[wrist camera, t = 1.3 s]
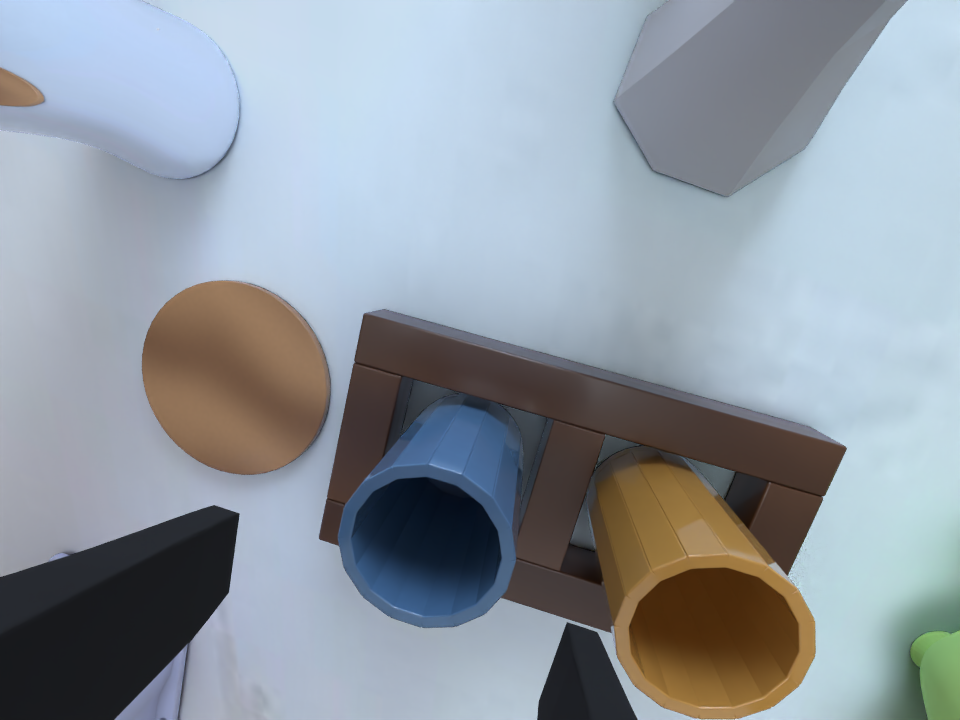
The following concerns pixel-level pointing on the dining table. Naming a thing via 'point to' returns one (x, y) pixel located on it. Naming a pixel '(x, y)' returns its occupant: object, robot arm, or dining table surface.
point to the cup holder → (575, 447)
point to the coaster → (235, 377)
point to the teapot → (939, 673)
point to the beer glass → (117, 82)
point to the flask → (741, 82)
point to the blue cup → (439, 516)
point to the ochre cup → (693, 591)
